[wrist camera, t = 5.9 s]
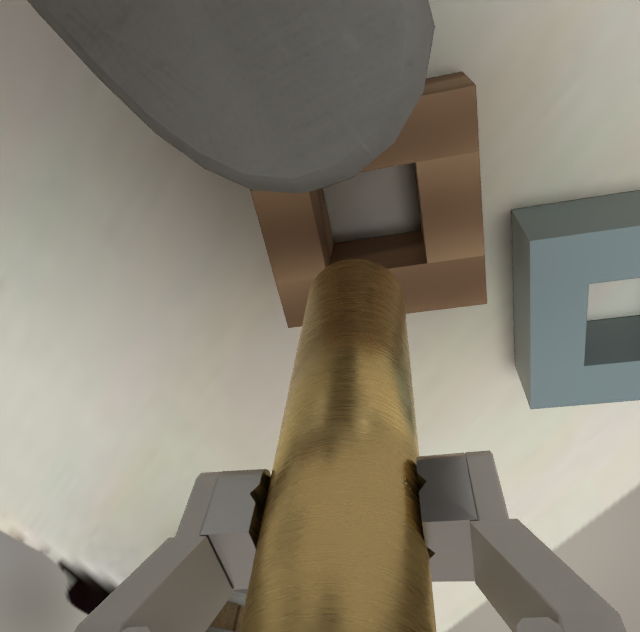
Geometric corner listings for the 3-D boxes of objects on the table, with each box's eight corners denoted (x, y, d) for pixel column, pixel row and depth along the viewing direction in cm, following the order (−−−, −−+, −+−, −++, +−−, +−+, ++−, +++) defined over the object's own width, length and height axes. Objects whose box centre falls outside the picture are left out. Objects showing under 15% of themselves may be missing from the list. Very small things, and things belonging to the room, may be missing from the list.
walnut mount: (253, 114, 26) (234, 132, 23) (462, 71, 24) (475, 84, 21) (298, 290, 31) (288, 327, 28) (474, 267, 29) (487, 303, 26)
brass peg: (299, 266, 17) (195, 667, 7) (397, 251, 17) (434, 666, 7) (318, 346, 19) (256, 765, 9) (409, 335, 18) (453, 769, 8)
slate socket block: (511, 209, 27) (530, 240, 24) (729, 176, 25) (783, 205, 22) (514, 365, 32) (530, 409, 29) (697, 346, 30) (737, 391, 27)
